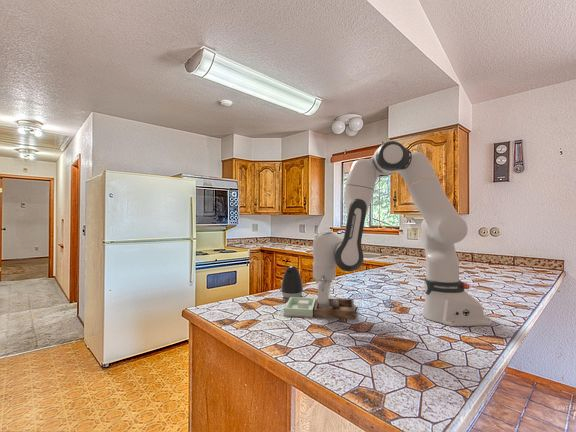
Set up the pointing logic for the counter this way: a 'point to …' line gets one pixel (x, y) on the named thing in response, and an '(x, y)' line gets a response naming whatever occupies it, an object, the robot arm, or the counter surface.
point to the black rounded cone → (291, 283)
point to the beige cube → (326, 305)
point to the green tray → (293, 309)
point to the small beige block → (303, 304)
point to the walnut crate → (337, 310)
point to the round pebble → (334, 303)
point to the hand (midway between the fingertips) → (324, 308)
